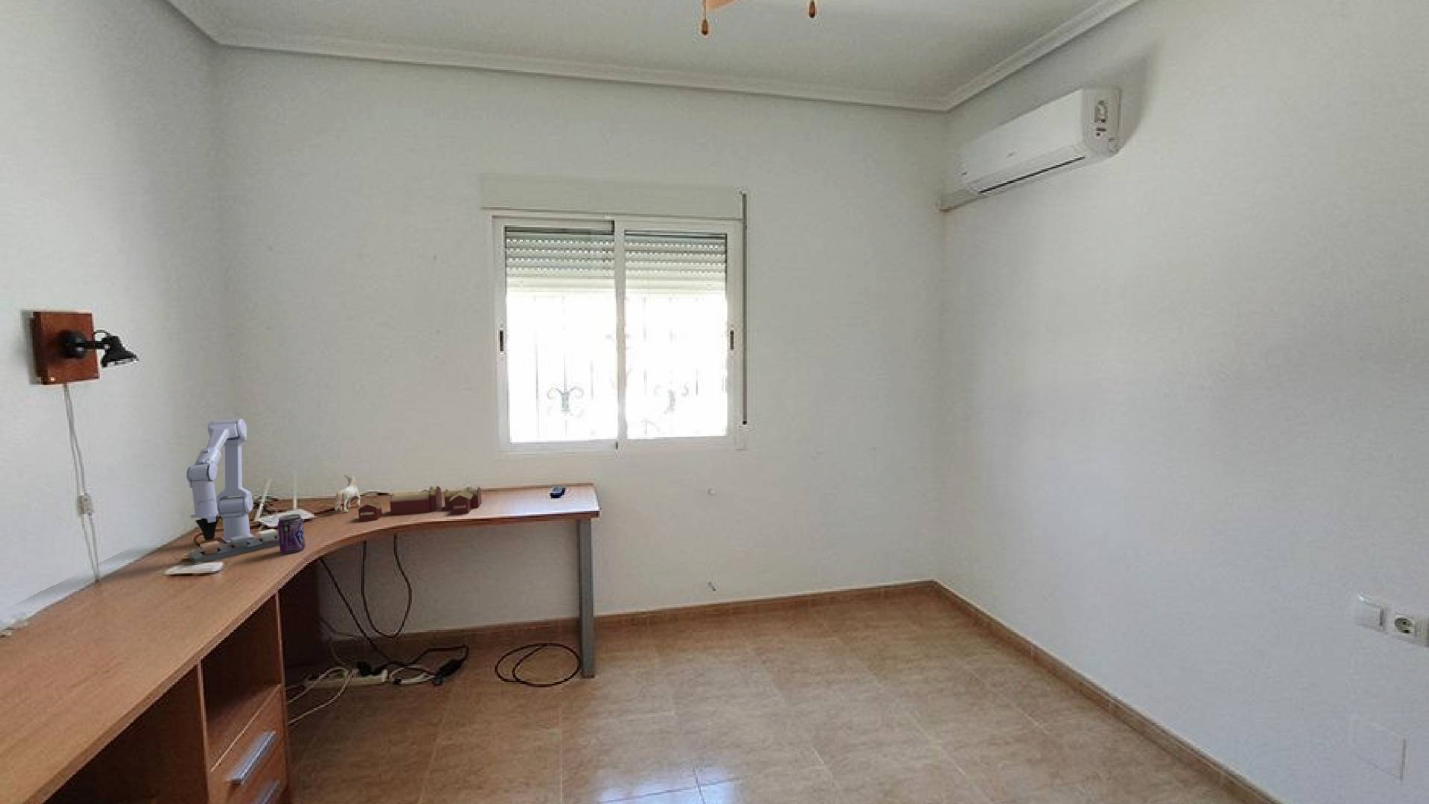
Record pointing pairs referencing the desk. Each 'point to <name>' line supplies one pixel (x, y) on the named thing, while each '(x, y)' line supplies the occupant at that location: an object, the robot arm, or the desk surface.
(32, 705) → the desk surface
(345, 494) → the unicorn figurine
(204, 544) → the terracotta key
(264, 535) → the off-white block
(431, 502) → the toy houses
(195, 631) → the desk surface
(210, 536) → the robot arm
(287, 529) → the beverage can
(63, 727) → the desk surface
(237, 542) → the light grey block
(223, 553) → the panel
